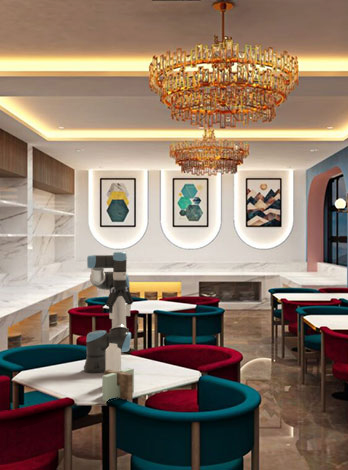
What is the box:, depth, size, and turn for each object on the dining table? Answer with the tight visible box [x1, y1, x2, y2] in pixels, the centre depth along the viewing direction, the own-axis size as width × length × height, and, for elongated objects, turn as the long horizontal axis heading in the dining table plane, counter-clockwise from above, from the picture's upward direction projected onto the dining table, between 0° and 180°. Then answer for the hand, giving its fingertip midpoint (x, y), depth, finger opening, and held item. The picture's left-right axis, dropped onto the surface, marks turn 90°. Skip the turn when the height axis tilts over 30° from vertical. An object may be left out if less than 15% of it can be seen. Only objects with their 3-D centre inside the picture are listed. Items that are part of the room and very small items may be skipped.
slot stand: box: [101, 367, 135, 403], centre depth 271 cm, size 20×3×12 cm, turn 144°
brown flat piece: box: [103, 370, 134, 400], centre depth 271 cm, size 16×3×12 cm, turn 54°
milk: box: [106, 343, 122, 372], centre depth 294 cm, size 6×6×22 cm
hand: (119, 317), depth 305 cm, fingers open, 13 cm apart
